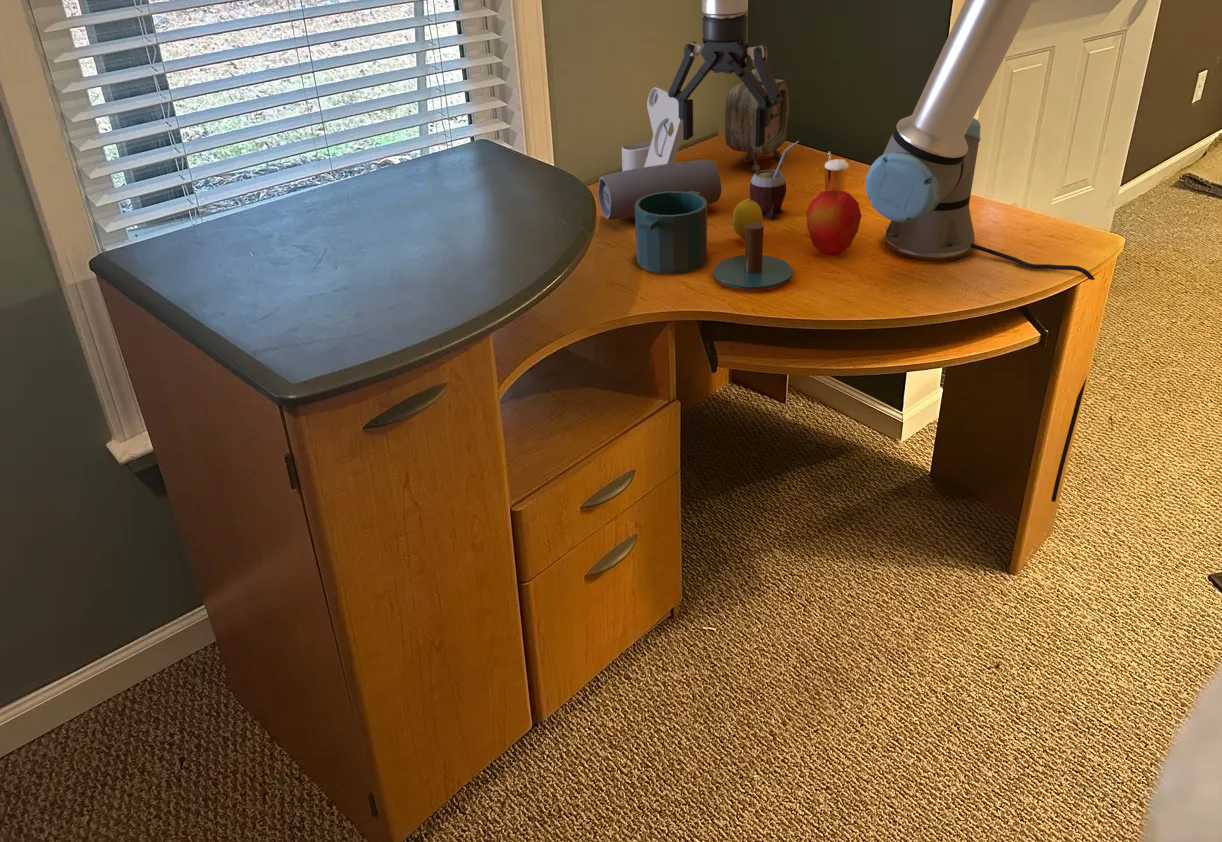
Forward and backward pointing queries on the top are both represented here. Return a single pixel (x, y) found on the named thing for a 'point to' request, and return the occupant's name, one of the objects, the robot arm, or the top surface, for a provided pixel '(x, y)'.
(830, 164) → the milkshake
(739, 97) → the tabletop clock
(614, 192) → the bluetooth speaker
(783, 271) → the lid
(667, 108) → the phone holder
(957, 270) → the top surface
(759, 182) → the mate gourd
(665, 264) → the pot
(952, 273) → the top surface
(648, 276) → the top surface
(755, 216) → the lemon
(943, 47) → the robot arm
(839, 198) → the apple
